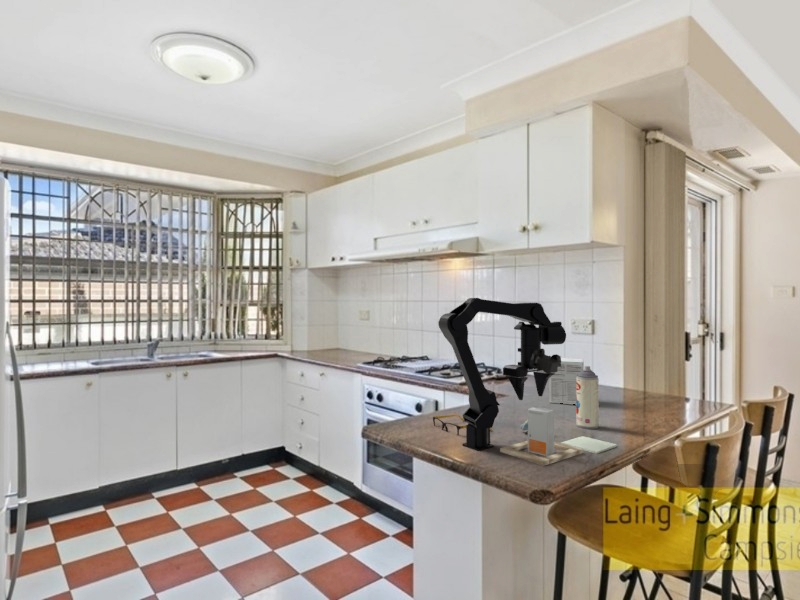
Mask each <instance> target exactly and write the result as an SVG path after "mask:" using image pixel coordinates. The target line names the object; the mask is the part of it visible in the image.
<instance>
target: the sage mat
mask: <svg viewBox="0 0 800 600" xmlns="http://www.w3.org/2000/svg"><path fill="white" fill-rule="evenodd" d="M560 443H562V444H566V445H569V446H573V447H577V448H581V449H582V451H585V452H590V453H593V454H600V453H603V452H606V451H608V450H610V449H614V448H617V447H618V444H616V443H612V442H608V441H604V440H601V439H600V440H599V439H596V438H593V437H588V436H584V435H581V436H578V437H575V438H571V439H568V440H565V441H561V442H560Z"/></svg>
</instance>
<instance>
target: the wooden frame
mask: <svg viewBox="0 0 800 600" xmlns="http://www.w3.org/2000/svg"><path fill="white" fill-rule="evenodd" d="M523 449H528V440H525V441H521V442H518V443H514V444H511V445H507V446H506V445H505V446H503V447H500V448H499V452H500V453H502V454H506V455H509V456H511V457H515V458H519V459H521V460H525V461H528V462H531V463H534V464H536V465H540V466H547V465H551V464H553V463H557V462H559V461H563V460H565V459H569V458H571V457H572V458H573V457H576V456H578V455H582V454H583V450H582V449H581V448H577V447H573V446H569V445H566V444H562V443H561V442H558V441H555V440H554V450H560V451H559V452H557V453H554V454H551V455H549V456H543V457H542V456H541V457H540V456H537V455H534V454H533V453H529V452H524V451H521V450H523Z"/></svg>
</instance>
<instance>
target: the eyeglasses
mask: <svg viewBox="0 0 800 600" xmlns="http://www.w3.org/2000/svg"><path fill="white" fill-rule="evenodd" d="M453 417H457V418H460V419H461V421H462V422H465V421H464V419H463V417H462V416H460V415H458V414H453V415H452V414H450V415H436V416H432V420H433V421H432V422H433V425H434V427H436V422H435V420H437V421H439V422H440V423H441V425H442V426H441V430H444V429H445V432H448V431H449V428H448V426H447V424H448V425H452V426H454V427H456V431H457V434H456V435H457V436H459V435H460V434H459V433H460V430H462V429H463V430H464V429H466V425H467V424H465V425H458V424H454V423H450V422H444V421H442V419H445V418H453ZM492 431H493V430H492V428H490V432H492Z"/></svg>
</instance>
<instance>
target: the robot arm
mask: <svg viewBox="0 0 800 600" xmlns="http://www.w3.org/2000/svg"><path fill="white" fill-rule="evenodd" d="M479 313H483V314H492V315H499V316H500V315H501V316H508V317H510V318H513V319H515V320H518V323H517V324H516V325H515V326H513V329H514V330H517V331H520V347H518V348H517V352H518V353H520V361H517V364H507V365H504V367H502V375H503V376H505V378H506V379H508V381H509V382H510V384H511V385H512V388H513V390H514V392H515V394H516V396H517V399H518V400H519V401H523V400H524V391H525V382H526V381H527V380H528V379H529V377H528V373H533V377H534V382H535V388H536V392H537V394H538V397H543V395H544V392H545V390H546V386H547V383H548V381H549V380H550V377H551V376H552V375H554V374H555V373H551V372H558V371H557V368H558V367H561V358H562V356H561V355H559V354H557V353H556V354H552V355H547V354H546V352H545V351H546V350H545V348H542V345H541V344H543V345H545V346H546V345H547V346H548V345H549V346H550V345H563V344H564V343H566V340H567V333H566V330H565V328H564V327H563V325H562V321H552V322H551V320H550V318H549V317H548V316H547V314H546V313H545V310H544V307H543V305H542V304H541V303H540V302H516V303H515V302H513V303H511V302H504V301H497V300H496V301H495V300H489V299H483V298H480V297H469V298H467V299H466V300H465V301H464V302H463V303H462V304H460V305H458V306H457V307H455V308H454V309H452V310H451V311H450V312H447V313H444V314H442V315H440V318H439V320H438V322H437V323H438V327H439V330H440V331H441V333H442V335H443V337H444V338H445V339H446V340H447V341H448V342H449V344H450V345H451V347H452V349H453V353H454V354H455V357H456V360H457V363H458V365H459V367H460V371H461V373H462V376H463V379H464V381H465V384H466V386H467V389H468V404H469V407H468V408H467V409H466V411H465V412H464V413H463V414H462V419H464V421H463V422H465V423H467V424H465V425H466V428H465V431H466V432H465V433H466V434H465V435H466V437H465V438H466V442H463V443H462V447H466V448H469V449H472V450H474V449H475V451H483V450H486V449H491V448H494V446H495V445H494V444H492V443H491V431H490V428H491V429H492V428H493V426H494V423H495V419H496V418H497V416H498V414H499V412H500V411H499V410H500V409H499V406H500V403H499V402H498V399H497V397H496V393H495V392H494V391H493V390H489V389H487V388H486V386H485V385H484V384H485V383H484V382H483V379H482V376H481V374H480V370H479V368H478V365H477V363H476V361H475V358H474V355H473V352H472V349H471V347H470V344H469V341H468V340H469V328H468V325H469V324H470V323H471V322H472V321H474V320H473V319H474V318H475V317H476V316H477V314H479ZM525 322H526V323H525Z"/></svg>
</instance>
